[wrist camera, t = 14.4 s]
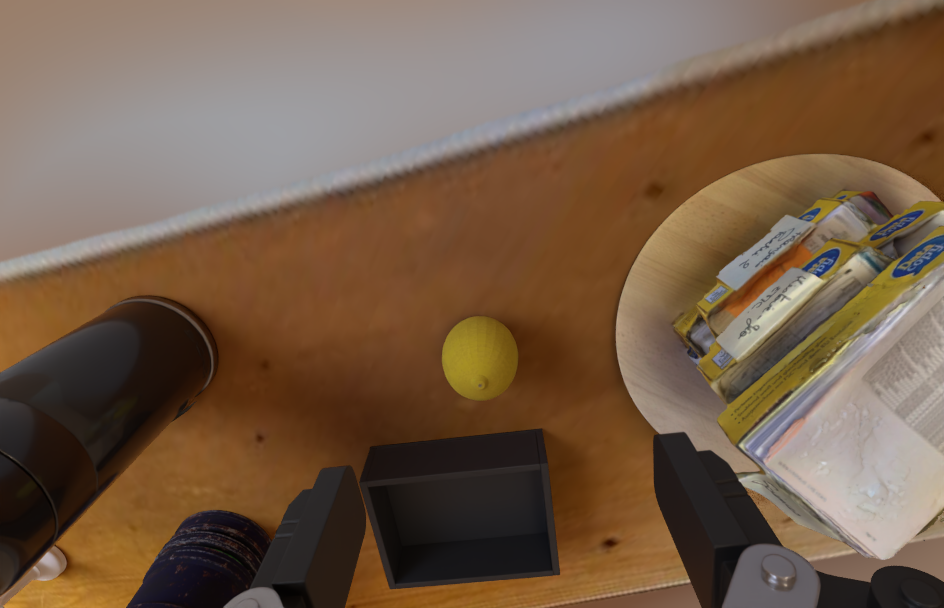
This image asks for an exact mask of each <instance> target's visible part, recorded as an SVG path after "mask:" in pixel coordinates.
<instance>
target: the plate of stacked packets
mask: <svg viewBox="0 0 944 608" xmlns="http://www.w3.org/2000/svg"><path fill="white" fill-rule="evenodd" d="M616 347H617V355H618V361H619V366H620V370H621V373H622V377H623V379H624V382H625V385H626V387H627V389H628V392H629V394H630V396H631V398H632V399H633V401H634V403H635V405H636V406H637V408H638V409H639V411H640V412H641V413H642V415H643V416H644V417H645V419H646V420H647V421H648V422H649V423H650V425H651V426H652V427H653V428H654V429H655V430H656V431H657V432H658V433H659V434H666V433H676V432H685V433H686V434H687V435H688V437H689V438H690V440H691V442H692V443H693V445H694V447H695V448H696V450H697V451H704V450H711V451H713V452H714V453H715V454H717V455H718V456H719V457H721V458H722V459H724V460H725V461H726V462H728V464H729V465H730V467H731V468H732V470H733V471H734V472H738V473H736V476H737V477H738V479H739V482H741V483H742V485H743V486H744V487H746V488H749V489H751V490H754V491H756V492H757V493H760V494H761V495H763V496H764V497H766V498H767V499H768V500H770V501H771V502H772V503H774V504H775V505H776V506H777V507H778V508H780V509H781V510H782V511H783V512H784V513H785V514H786V515H788V516H789V517H791V519H792V520H793V521H794V522H796V523H797V524H799V525H801V526H804V527H807V528H809V529H811V530H814V531H816V532H819V533H821V534H823V535H826V536H829V537H831V538H833V539H837V540H839V541H841V542H844V543H846V544H847V545H849V546H850V547H852V548H853V549H854V550H856V551H857V552H858V553H860V554H861V555H862V556H864V557H868V558H871V557H875V558H877V559H880V560H884V559H888V558H892V557H894V556H895V555H896V553H897V552H898V551H899V550H900V549H902V547H903V546H905V545H906V544H907V543H908V542H909V541H910V540H911V539H912V538H913V537H914V536H916V535H919V534H920V533H922V532H924V531H925V530H927V529H928V528H929V527H930V526H932V525H933V524H934V523H935V521H936V520H937V516H940V515H941V514H942V513H943V511H944V202H942V201H941V200H940V199H939V198H937V197H936V196H935V195H934V194H933V193H932V192H931V191H930V190H929V189H927V188H926V187H925V186H923V185H922V184H920V183H919V182H917V181H916V180H914V179H913V178H911V177H909V176H907V175H906V174H904V173H902V172H900V171H898V170H896V169H893V168H891V167H889V166H886V165H883V164H880V163H877V162H874V161H870V160H867V159H862V158H858V157H852V156H845V155H836V154H805V155H795V156H788V157H782V158H777V159H772V160H768V161H765V162H761V163H758V164H754V165H751V166H749V167H746V168H743V169H741V170H738V171H736V172H734V173H731V174H729V175H727V176H725V177H723V178H721V179H719V180H717V181H715V182H714V183H712V184H710V185H709V186H707V187H705V188H704V189H702V190H701V191H699V192H698V193H696V194H695V195H693V196H692V197H691V198H689V199H688V200H687V201H686V202H684V203H683V204H682V205H681V206H680V207H678V208H677V209H676V210H675V211H674V212H673V213H672V214H671V215H670V216H669V217H668V218H667V219H666V220H665V221H664V222H663V223H662V224H661V225H660V226H659V227H658V229H657V230H656V231H655V232H654V233H653V235H652V236H651V237H650V239H649V240H648V241H647V243H646V244H645V246H644V247H643V249H642V250H641V252H640V254H639V255H638V257H637V259H636V261H635V262H634V264H633V266H632V268H631V271H630V273H629V275H628V277H627V280H626V283H625V285H624V288H623V292H622V295H621V299H620V303H619V308H618V314H617V322H616ZM829 351H830V352H829ZM798 377H799V378H798ZM943 521H944V517H943V518H942V519H941V522H943ZM924 541H925V540H924Z"/></svg>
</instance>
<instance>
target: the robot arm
mask: <svg viewBox="0 0 944 608" xmlns="http://www.w3.org/2000/svg"><path fill="white" fill-rule="evenodd" d="M217 365H218V353H217V348H216V345H215V342H214V339H213V337H212V335H211V333H210V332H209V330H208V329H207V327H206V326H205V325H204V323H203V322H202V321H201V320H200V319H199V318H198V317H197V316H196V315H195V314H193V313H192V312H191V311H190V310H188V309H187V308H185V307H183V306H182V305H180V304H178V303H176V302H173V301H171V300H168V299H165V298H161V297H156V296H136V297H131V298H128V299H125V300H123V301H121V302H119V303H117V304H116V305H114V306H112V307H110V308H109V309H108V310H106V311H105V312H104V313H103V314H101V315H99V316H98V317H96V318H94V319H92V320H91V321H89V322H87V323H85V324H83V325H82V326H80V327H78V328H77V329H75V330H73V331H71V332H70V333H68V334H66V335H64V336H63V337H61V338H59V339H58V340H56V341H54V342H52V343H51V344H49V345H47V346H46V347H44V348H42V349H40V350H39V351H37V352H35V353H33V354H32V355H30V356H28V357H27V358H25V359H23V360H21V361H20V362H18V363H16V364H15V365H13V366H11V367H9V368H8V369H6V370H4V371H2V372H1V373H0V597H1V596H2V595H4V594H5V593H7V592H8V591H9V590H11V589H12V588H13V587H14V586H15V585H16V584H17V583H18V582H19V581H20V580H21V579H22V578H23V577H24V576H25V575H26V574H27V573H28V572H29V571H30V570H31V569H32V568H33V567H34V566H35V565H36V564H37V563H38V562H39V561H40V560H41V559H42V558H43V557H44V556H45V554H46V553H47V552H48V551H49V550H50V549H51V548H52V547H53V546H54V545H55V544H56V543H57V542H58V541H59V540H60V539H61V538H62V537H63V536H64V535H65V534H66V533H67V531H68V530H69V529H70V528H71V527H72V526H73V525H74V524H75V523H76V522H77V521H78V520H79V519H80V518H81V517H82V516H83V515H84V514H85V512H86V511H87V510H88V509H89V508H90V507H91V506H92V505H93V504H94V503H95V502H96V501H97V500H98V498H99V497H100V496H101V495H102V494H103V493H104V492H105V491H106V490H107V489H108V488H109V487H110V486H111V485H112V484H113V483H114V482H115V481H116V480H117V478H118V477H119V476H120V475H121V474H122V473H123V472H124V471H125V470H126V469H127V468H128V467H129V466H130V465H131V464H132V463H133V462H134V461H135V460H136V458H137V457H138V456H139V455H140V454H141V453H142V452H143V451H144V450H145V449H146V448H147V447H148V446H149V445H150V444H151V443H152V442H153V441H154V440H155V438H156V437H157V436H158V435H159V434H160V433H161V432H162V431H163V430H164V429H165V428H166V427H167V426H168V425H169V424H170V423H171V422H172V421H174V420H175V419H177V418H178V417H179V416H181V415H182V414H184V413H185V412H187V411H188V410H189V409H190V408H191V406H192V405H193V404H194V403H195V402H194V403H193V404H191V405H190V406H189V407H187V408H186V409H184V408H185V407H186V406H187V405H188V404H189V403H190V402H191V401H192V399H193V398H194V397H196V396H197V395H199V394H200V393H201V392H202V391H203V390H204V389H205V388H206V387H207V386H208V385H209V383H210V382H211V381H212V379H213V377H214V376H215V373H216V370H217ZM183 409H184V410H183ZM182 410H183V411H182ZM653 454H654V487H655V493H656V498H657V501H658V504H659V507H660V510H661V512H662V514H663V517H664V519H665V522H666V524H667V526H668V529H669V531H670V533H671V536H672V538H673V541H674V543H675V545H676V548H677V550H678V552H679V555H680V557H681V559H682V562H683V564H684V567H685V569H686V571H687V574H688V576H689V578H690V581H691V583H692V586H693V588H694V590H695V592H696V595H697V597H698V599H699V602H700V605H701V607H702V608H944V582H943V581H941V580H939V579H938V578H936V577H934V576H932V575H930V574H928V573H925V572H922V571H920V570H917V569H913V568H910V567H904V566H887V567H883V568H881V569H879V570H877V571H876V572H875V573H874V574H873V576H872V578H871V583H869V582H865V581H859V580H854V579H848V578H843V577H837V576H832V575H828V574H824V573H822V572H819V571H816V570H815V569H814V567H813V566H812V565H811V564H810V563H809V562H808V561H807V560H806V559H805V558H803V557H802V556H800V555H799V554H798V553H796V552H794V551H792V550H790V549H788V548H785V547H783V545H782V544H781V543H780V541H779V540H778V538H777V537H776V535H775V533H774V532H773V530H772V529H771V527H770V526H769V524H768V523H767V521H766V520H765V518H764V517H763V515H762V514H761V512H760V511H759V509H758V508H757V506H756V505H755V503H754V502H753V500H752V498H751V497H750V495H748V494H747V491H746V489H745V488H744V486H743V485H742V483H741V482H739V479H738V477H737V476H736V474H735V473H734V471H733V470H732V468H731V467H730V465H729V464H728V462H726V461H725V460H724V459H722V458H721V457H719V456H718V455H717V454H715V453H714V452H713V451H711V450H704V451H697V450H696V448H695V447H694V445H693V443H692V442H691V440H690V438H689V437H688V435H687V434H686V433H685V432H676V433H666V434H657V435H654V439H653ZM365 529H366V513H365V508H364V504H363V501H362V497H361V494H360V490H359V487H358V483H357V480H356V476H355V473H354V470H353V468H352V467H351V466H350V465H349V466H339V467H329V468H323V469H322V470H321V471H320V473H319V475H318V477H317V480H316V482H315V484H314V487H313V489H307V490H303V491H302V492H301V493H300V494H299V495H298V496H297V497H296V498H295V499H294V500H293V501H292V502H291V504H290V505H289V506H288V508H287V511H286V513H285V515H284V517H283V519H282V521H281V525H279V527H278V530H277V532H276V534H275V539H273V540H272V542H271V544H270V546H269V549H268V551H267V553H266V555H265V557H264V559H263V561H262V563H261V565H260V568H259V570H258V572H257V574H256V576H255V578H254V580H253V582H252V584H251V587H250V589H249V590H247V591H244V592H243V593H241V594H239V595H237V596H236V597H234V598H233V599H232V600H231V601H229V602H228V603H227V604H226V605H225V606H224V607H223V608H345V605H346V601H347V597H348V594H349V590H350V586H351V583H352V579H353V575H354V572H355V568H356V564H357V561H358V557H359V553H360V549H361V546H362V542H363V538H364V535H365Z"/></svg>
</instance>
